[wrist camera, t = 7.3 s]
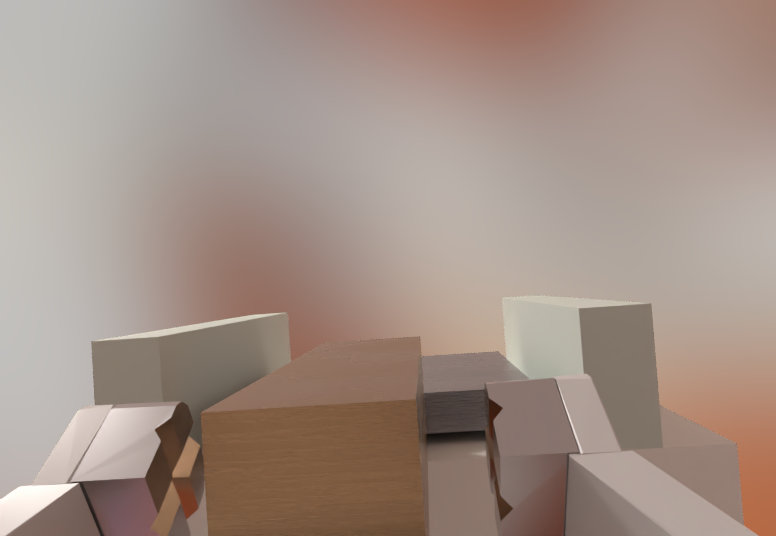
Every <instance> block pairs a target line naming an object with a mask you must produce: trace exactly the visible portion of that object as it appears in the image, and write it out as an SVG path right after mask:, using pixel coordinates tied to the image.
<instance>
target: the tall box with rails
mask: <svg viewBox="0 0 776 536" xmlns="http://www.w3.org/2000/svg"><path fill="white" fill-rule="evenodd" d="M502 306H503V319H504V333H505V346H506V359H507V360H508V361H510V362H511V363H512V364H513V365H514V366H515V367H517V368H518V369H519V370H520V371H521V372H522V373H524V374H525V375H526V376H527V377H528V378H529V379H542V378H553V377H555V376H566V375H577V374H588V375H589V376H590V377H592V380H593V382H594V384H595V387H596V389H597V392H598V394H599V396H600V399H601V401H602V404H603V406H604V408H605V411H606V413H607V415H608V418H609V420H610V423H611V425H612V427H613V430H614V432H615V434H616V437H617V439H618V442H619V444H620V446H621V449H622V451H634V452H636V453H637V454H639V455H640V456H642V457H643V458H645V459H646V460H648V461H649V462H651V463H652V464H654V465H655V466H656V467H658V468H659V469H661V470H662V471H664V472H665V473H667V474H668V475H670V476H671V477H673V478H674V479H676V480H677V481H679V482H680V483H682V484H683V485H684V486H686V487H687V488H689V489H690V490H692V491H693V492H695V493H696V494H698V495H699V496H701V497H702V498H704V499H705V500H707V501H708V502H709V503H711V504H712V505H714V506H715V507H717V508H718V509H720V510H721V511H723V512H724V513H726V514H727V515H729V516H730V517H732V518H733V519H734V520H736V521H737V522H739V523H740V524H742V525H743V526H744V521H743V511H742V499H741V487H740V475H739V463H738V451H737V443H734V442H733V441H731V440H729V439H727V438H724V437H723V436H720V435H719V434H716V433H715V432H713V431H711V430H708V429H707V428H704V427H702V426H701V425H699V424H697V423H695V422H693V421H691V420H689V419H687V418H685V417H683V416H680V415H678V414H677V413H675V412H672V411H671V410H668V409H666V408H664V407H662V406H661V405H659V393H658V381H657V368H656V356H655V344H654V332H653V320H652V308H651V304H650V303H637V302H623V301H610V300H595V299H582V298H568V297H554V296H540V295H536V296H521V297H508V298H502ZM92 359H93V360H92V361H93V379H94V397H95V405H118V404H129V403H154V402H178V401H182V402H184V403H185V404H187V405H188V407H189V410H190V413H191V416H192V419H193V422H194V423H193V426H192V428H191V431H190V434H189V437H191V438H192V439H193V440H194V441H196V442H197V443H198V444H199V445H200V446H201V450H202V454H203V444H202V428H201V412H202V411H204V410H206V409H208V408H210V407H211V406H213V405H215V404H217V403H218V402H220V401H222V400H224V399H225V398H227V397H229V396H231V395H233V394H234V393H236V392H238V391H240V390H241V389H243V388H245V387H247V386H249V385H250V384H252V383H254V382H256V381H257V380H259V379H261V378H263V377H265V376H266V375H268V374H270V373H272V372H273V371H275V370H277V369H279V368H281V367H282V366H284V365H286V364H288V363H289V362H291V356H290V342H289V325H288V313H275V314H261V315H250V316H244V317H238V318H231V319H225V320H219V321H213V322H207V323H201V324H194V325H189V326H182V327H176V328H170V329H165V330H158V331H152V332H146V333H140V334H134V335H127V336H121V337H115V338H109V339H103V340H97V341H92ZM427 453H428V493H429V533H430V536H498V532H497V526H496V520H495V502H494V495H493V494H492V493H491V489H490V483H489V476H488V468H487V457H486V441H485V430H480V431H463V432H446V433H429V434H427ZM187 523H188V526H189V529H190V533H191V534H190V536H208V526H207V510H206V493H205V481H204V493H203V496H202V499H201V503H200V506H199V509H198V510H197V511H195V512H194V513H193V514H192V515H191V516H190V517H189V518H188V519H187Z"/></svg>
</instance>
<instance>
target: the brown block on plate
mask: <svg viewBox="0 0 776 536" xmlns="http://www.w3.org/2000/svg"><path fill="white" fill-rule="evenodd" d="M527 379H529V378H528V377H527V376H526V375H525V374H524V373H522V372H521V371H520V370H519V369H518V368H517V367H515V366H514V365H513V364H512V363H511V362H510V361H508V360H507V359H506V358H505V357H504V356H503V355H501V354H500V353H499V352H483V353H467V354H452V355H436V356H423V357H422V356H421V343H420V337H405V338H392V339H391V338H390V339H376V340H361V341H345V342H330V343H323V344H322V345H320V346H318V347H316V348H314V349H313V350H311V351H309V352H307V353H305V354H304V355H302V356H300V357H298V358H297V359H295V360H293V361H291V362H289V363H288V364H286V365H284V366H282V367H281V368H279V369H277V370H275V371H273V372H272V373H270V374H268V375H266V376H265V377H263V378H261V379H259V380H257V381H256V382H254V383H252V384H250V385H249V386H247V387H245V388H243V389H241V390H240V391H238V392H236V393H234V394H233V395H231V396H229V397H227V398H225V399H224V400H222V401H220V402H218V403H217V404H215V405H213V406H211V407H210V408H208V409H206V410H204V411H202V412H201V428H202V444H203V460H204V477H205V493H206V510H207V526H208V536H430V533H429V493H428V453H427V434H429V433H446V432H463V431H480V430H485V427H486V426H487V425H488V424H487V418H486V412H485V406H484V382H498V381H513V380H527Z"/></svg>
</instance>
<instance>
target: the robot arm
mask: <svg viewBox="0 0 776 536" xmlns="http://www.w3.org/2000/svg"><path fill="white" fill-rule="evenodd" d="M484 406H485V412H486V418H487V424H488V425H487V426H486V427H485V441H486V457H487V468H488V476H489V483H490V489H491V493H492V494H493V495H494V502H495V520H496V526H497V532H498V536H758V535H757V534H755V533H754V532H752V531H751V530H749V529H748V528H746V527H745V526H743V525H742V524H740V523H739V522H737V521H736V520H734V519H733V518H732V517H730V516H729V515H727V514H726V513H724V512H723V511H721V510H720V509H718V508H717V507H715V506H714V505H712V504H711V503H709V502H708V501H707V500H705V499H704V498H702V497H701V496H699V495H698V494H696V493H695V492H693V491H692V490H690V489H689V488H687V487H686V486H684V485H683V484H682V483H680V482H679V481H677V480H676V479H674V478H673V477H671V476H670V475H668V474H667V473H665V472H664V471H662V470H661V469H659V468H658V467H656V466H655V465H654V464H652V463H651V462H649V461H648V460H646V459H645V458H643V457H642V456H640V455H639V454H637V453H636V452H634V451H622V449H621V446H620V444H619V442H618V439H617V437H616V434H615V432H614V430H613V427H612V425H611V423H610V420H609V418H608V415H607V413H606V411H605V408H604V406H603V404H602V401H601V399H600V396H599V394H598V392H597V389H596V387H595V384H594V382H593V380H592V377H590V376H589V375H588V374H577V375H566V376H555V377H553V378H542V379H527V380H513V381H498V382H484ZM193 423H194V422H193V419H192V416H191V413H190V410H189V407H188V405H187V404H185V403H184V402H182V401H178V402H154V403H129V404H118V405H94V406H85V407H83V408H82V409H80V410H78V411H77V412H76V414H75V416H74V417H73V419H72V420H71V422H70V424H69V425H68V427H67V428H66V430H65V431H64V433H63V435H62V436H61V438H60V440H59V441H58V443H57V444H56V446H55V447H54V449H53V451H52V452H51V454H50V455H49V457H48V459H47V460H46V462H45V463H44V465H43V467H42V468H41V470H40V471H39V473H38V474H37V476H36V478H35V479H34V481H33V483H32V484H31V486H20V487H18V488H17V489H15V490H14V491H12V492H11V493H9V494H8V495H6V496H5V497H4V498H2V499H1V500H0V536H190V534H191V533H190V529H189V526H188V523H187V519H188V518H189V517H190V516H191V515H192V514H193V513H194V512H195V511H197V510H198V509H199V506H200V503H201V499H202V496H203V493H204V481H205V477H204V460H203V454H202V450H201V446H200V445H199V444H198V443H197V442H196V441H194V440H193V439H192V438H191V437H189V434H190V431H191V428H192V426H193Z"/></svg>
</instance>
